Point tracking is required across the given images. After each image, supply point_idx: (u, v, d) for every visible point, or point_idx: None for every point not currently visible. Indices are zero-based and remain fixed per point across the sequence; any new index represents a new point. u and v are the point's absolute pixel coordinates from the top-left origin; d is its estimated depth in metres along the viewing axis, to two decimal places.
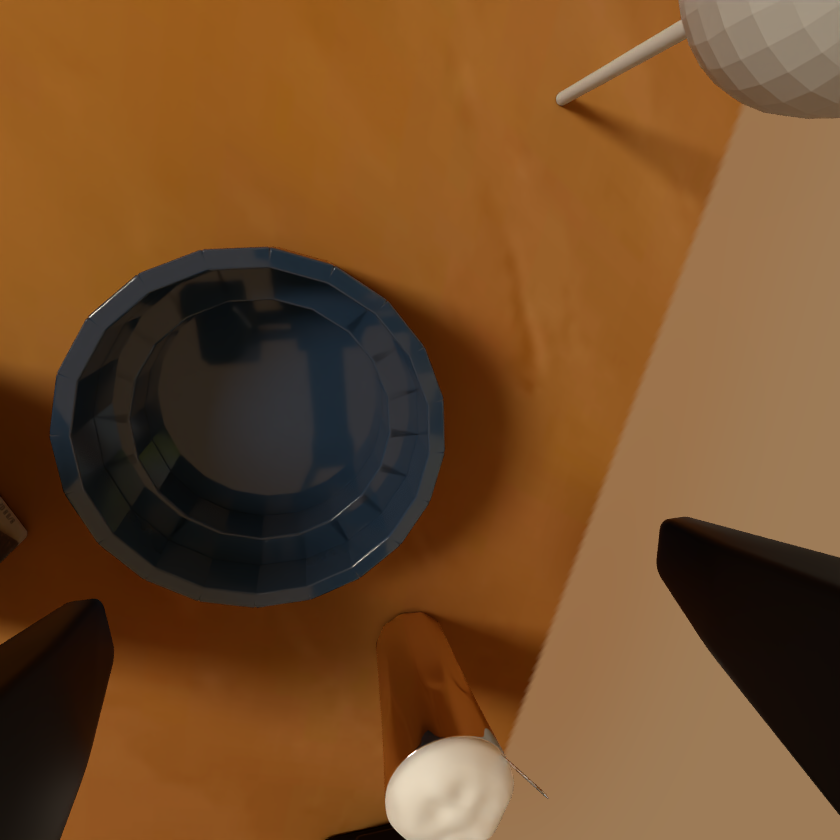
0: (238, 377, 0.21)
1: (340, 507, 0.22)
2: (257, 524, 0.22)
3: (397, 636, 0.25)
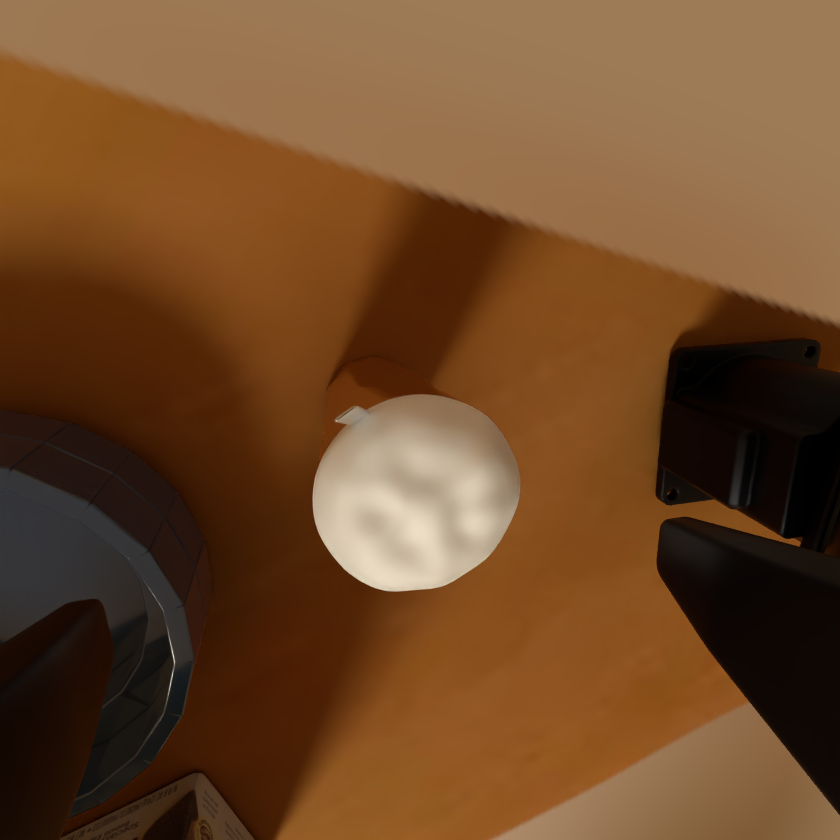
0: None
1: None
2: None
3: None
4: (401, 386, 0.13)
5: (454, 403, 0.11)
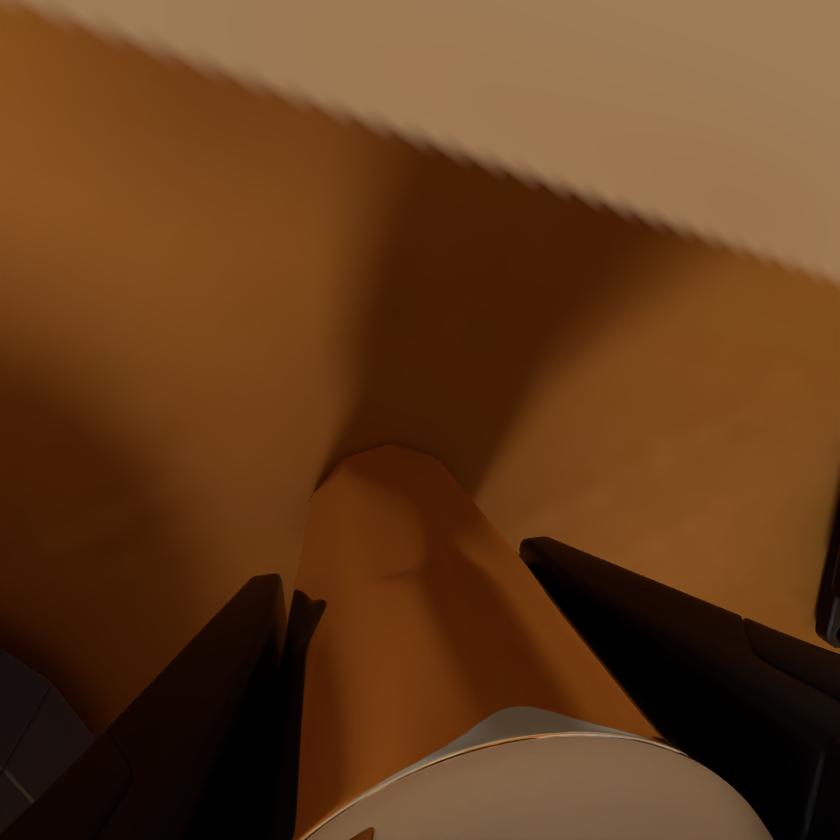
0: None
1: None
2: None
3: None
4: (459, 634, 0.05)
5: (645, 782, 0.04)
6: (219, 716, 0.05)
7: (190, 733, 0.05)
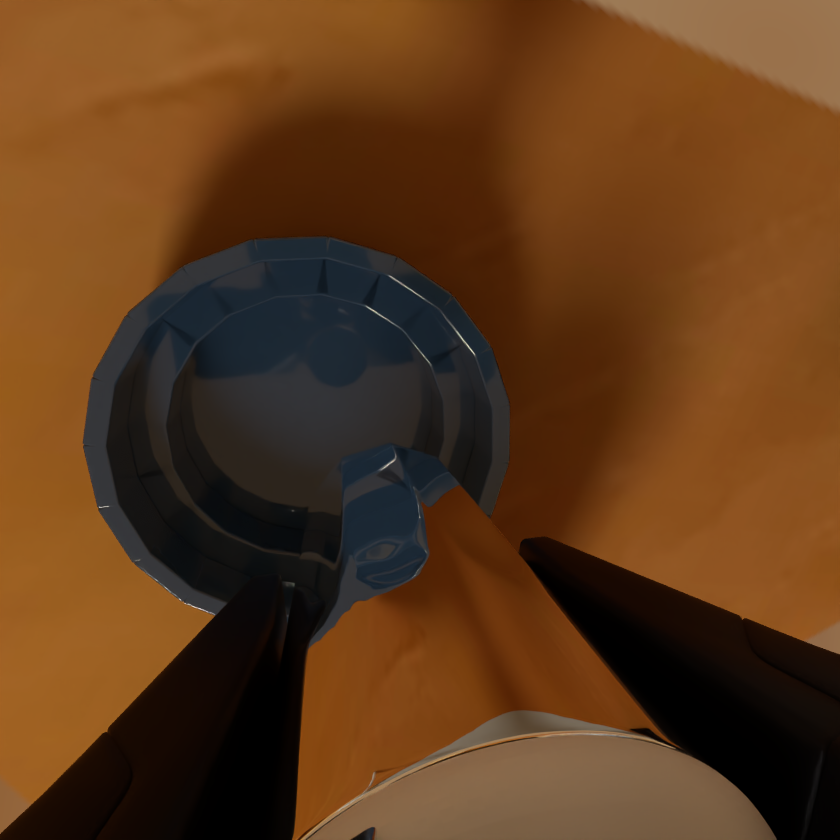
0: (274, 445, 0.20)
1: (418, 351, 0.19)
2: (435, 436, 0.20)
3: None
4: (461, 633, 0.05)
5: (648, 781, 0.04)
6: (219, 716, 0.05)
7: (190, 733, 0.05)
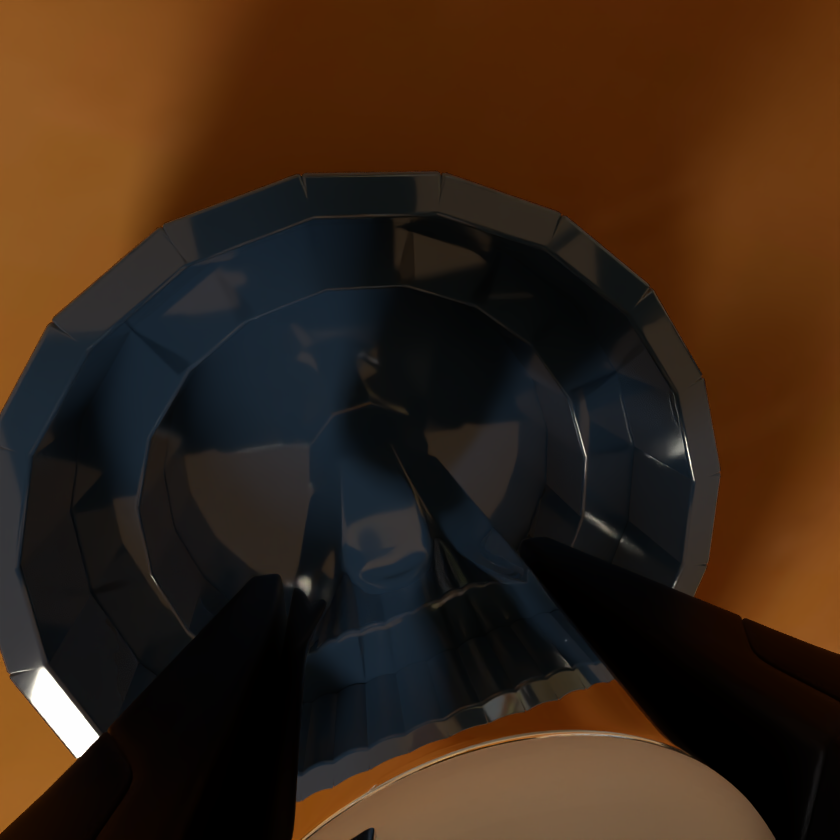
0: None
1: (549, 379, 0.11)
2: (557, 506, 0.13)
3: None
4: (460, 634, 0.05)
5: (647, 782, 0.04)
6: (219, 716, 0.05)
7: (190, 733, 0.05)
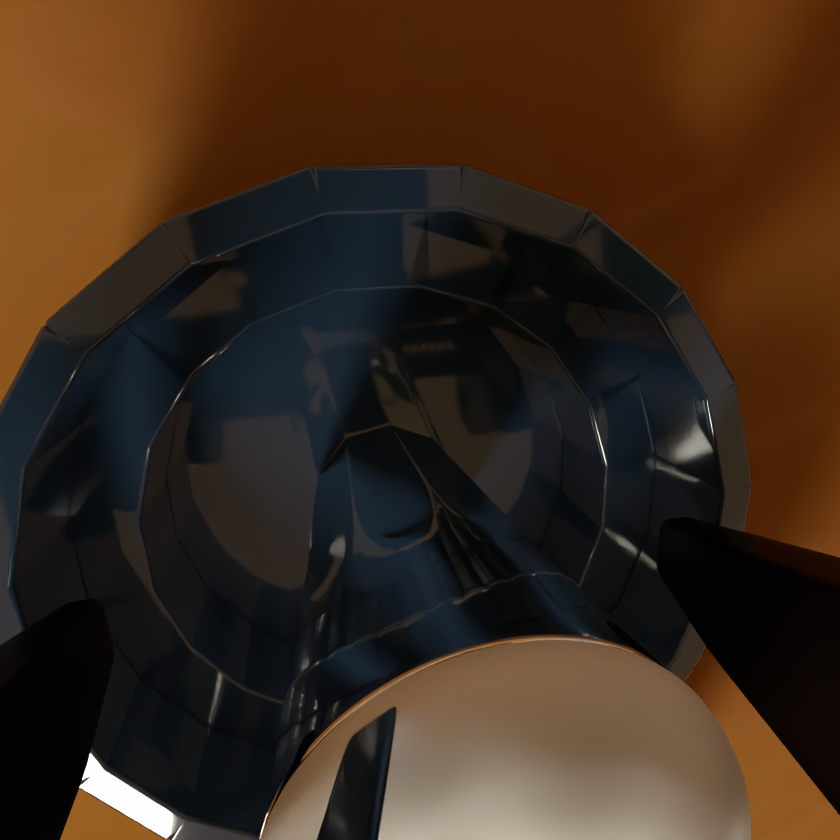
0: None
1: (568, 384, 0.11)
2: (574, 515, 0.13)
3: None
4: (461, 572, 0.06)
5: (614, 671, 0.04)
6: None
7: None
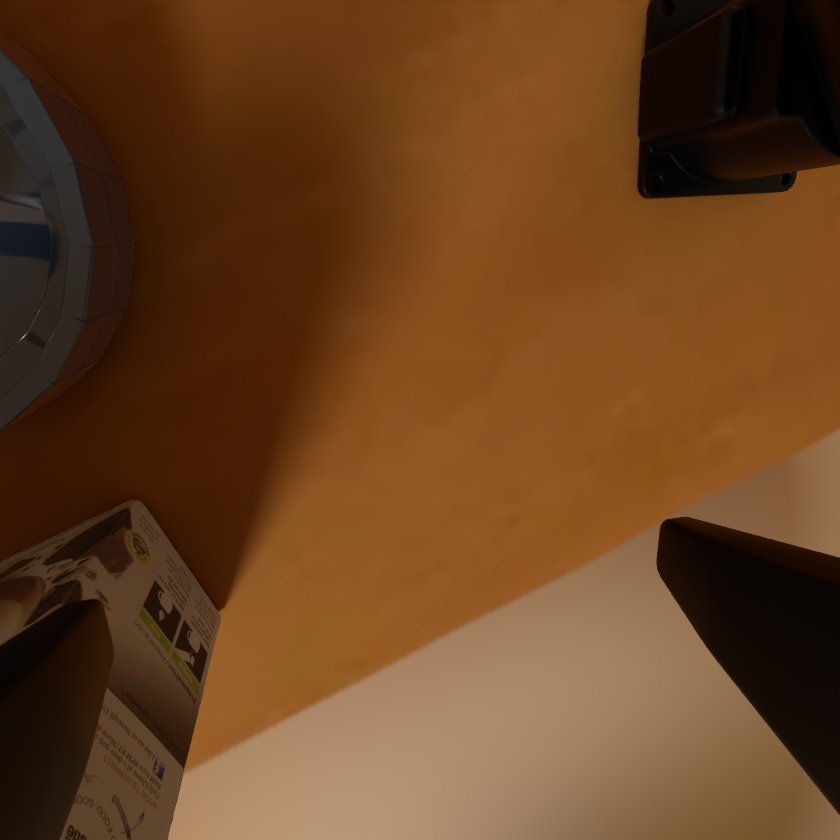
0: None
1: None
2: None
3: None
4: None
5: None
6: None
7: None
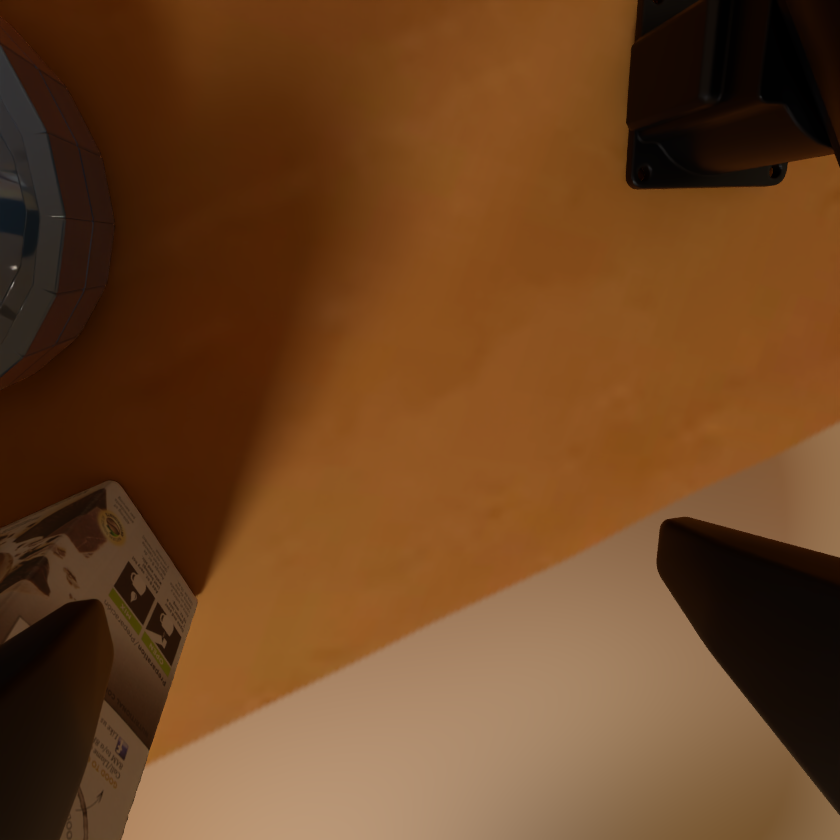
0: None
1: None
2: None
3: None
4: None
5: None
6: None
7: None
